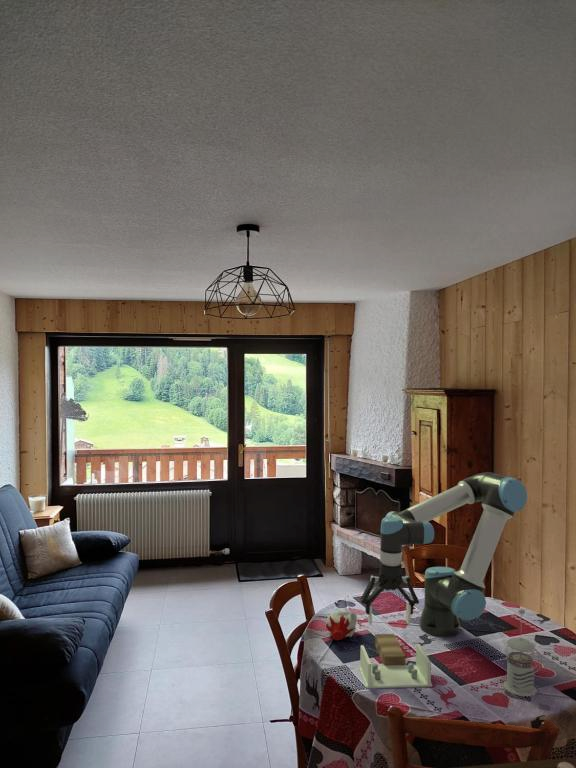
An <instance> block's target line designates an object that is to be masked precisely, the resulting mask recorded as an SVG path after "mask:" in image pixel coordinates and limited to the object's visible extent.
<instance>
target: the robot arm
mask: <svg viewBox="0 0 576 768" xmlns="http://www.w3.org/2000/svg"><path fill="white" fill-rule="evenodd" d="M478 502H481V507H482V508H483V511H482V514H481V516H480V519H479V522H478V524H477V526H476V529H475V532H474V533H473V536H472V539H471V541H470V544H469V547H468V548H467V551H466V554H465V556H464V559H463V562H462V564H461V567H460V568H459V569H458V570H457V571H456V569H454V568H452V567H448V566H432V567H428V568H426V570H425V572H424V578H423V579H424V606H423V608H422V611H421V614H420V618H419V627H420V629H421V630H422V631H424V632H426V634H427V633H428V634H430V635H433V636H437V637H438V636H439V637H452V636H456V635H458V634H459V633H460V630H461V627H460V626H461V624H460V620H459V618H460V619H462V620H465V621H473V620H474V619H477V618H479V617H480V616H481V615H482V614H483V613H484V611H485V609H486V607H487V606H486V605H487V600H486V596H485V595H484V591H485V589H486V586H485V583H484V579H485V577H486V574H487V572H488V568H490V567H489V566H490V564H491V562H492V559H493V556H494V554H495V551H496V549H497V546H498V543H499V541H500V538H501V536H502V534H503V531H504V528H505V526H506V523H507V521H508V520H510V519H513V517H514V516H515V512H516V513H517V512H520V511H521V510H523V509H524V508H525V506H526V504H527V502H528V492H527V490H526V487H525V485H524V484H523V483H522V482H521V481H520V480H518V479H517V478H514V477H511V476H507V475H503V474H499V473H495V472H492V471H491V472H486V471H485V472H481V473H477V474H474V475H472V476H469V477H467V478H465V479H462V480H460V481H458V483H457V485H456V486H453V487H451V488H449V489H447V490H444V491H442V492H441V493H438V494H436V495H434V496H432V497H430V498H428V499H425V500H423V501H421V502H418V503H416V504H414V505H411V506H410V507H408V508H406V509H404V510H402V511H389V512H388V513H387V514H386V515H385V517H383V518H382V520H381V523H380V529H379V530H380V543H379V545H380V548H379V549H380V552H379V561H380V563H379V576H374V575H373V574H371V575H370V577H369V582H368V583H367V586H366V588H365V590H364V591H363V593H362V596H361V597H360V602H361V604H362V605H365V611H364V612H365V614H366V615H367V623H368V625H369V626H372V625H373V605H372V603H373V602H374V601H375V600H376V599H377V598H378V596H380V594H381V593H382V592H383V591H384V590H386V591H396V590H398V591H399V592H400V593H401V595H402V596H403V598H404V599H405V600H406V601H407V602H406V604H405V605H406V606H405V607H406V608H405V609H406V610H405V622H406V623H407V625H409V626H411V617H412V616H411V615H413V614H414V607H415V605H417V604H418V605H419V603H420V600H419V599H418V596H417V594H416V593H415V590H414V588H413V585H412V582H411V580H412V579H411V577H409V575H408V574H406V575H405V576H402V563H403V546H410V545H411V546H412V545H413V546H414V545H425V544H430V543H432V542H433V541H434V539H435V528H434V527H433V525H432V523H430V521H432V520H434V519H436V518H438V517H441V516H443V515H445V514H447V513H449V512H451V511H453V510H455V509H457V508H460V507H462V506H465V505H466V504H469V505H473V504H475V503H478ZM377 582H379V583H378V584H377ZM403 582H404V584H406V586H407V589H408V591H409V593H410V596H411V597H412V599H411V597H410V596H409V595H408V594H407V593H406V591H405V590H404V589H403V587H402V586H401V584H402V583H403ZM376 584H377V587H376V588H375V589H374V590H373V588H374V586H375V585H376ZM372 590H373V591H372ZM458 617H459V618H458Z"/></svg>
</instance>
